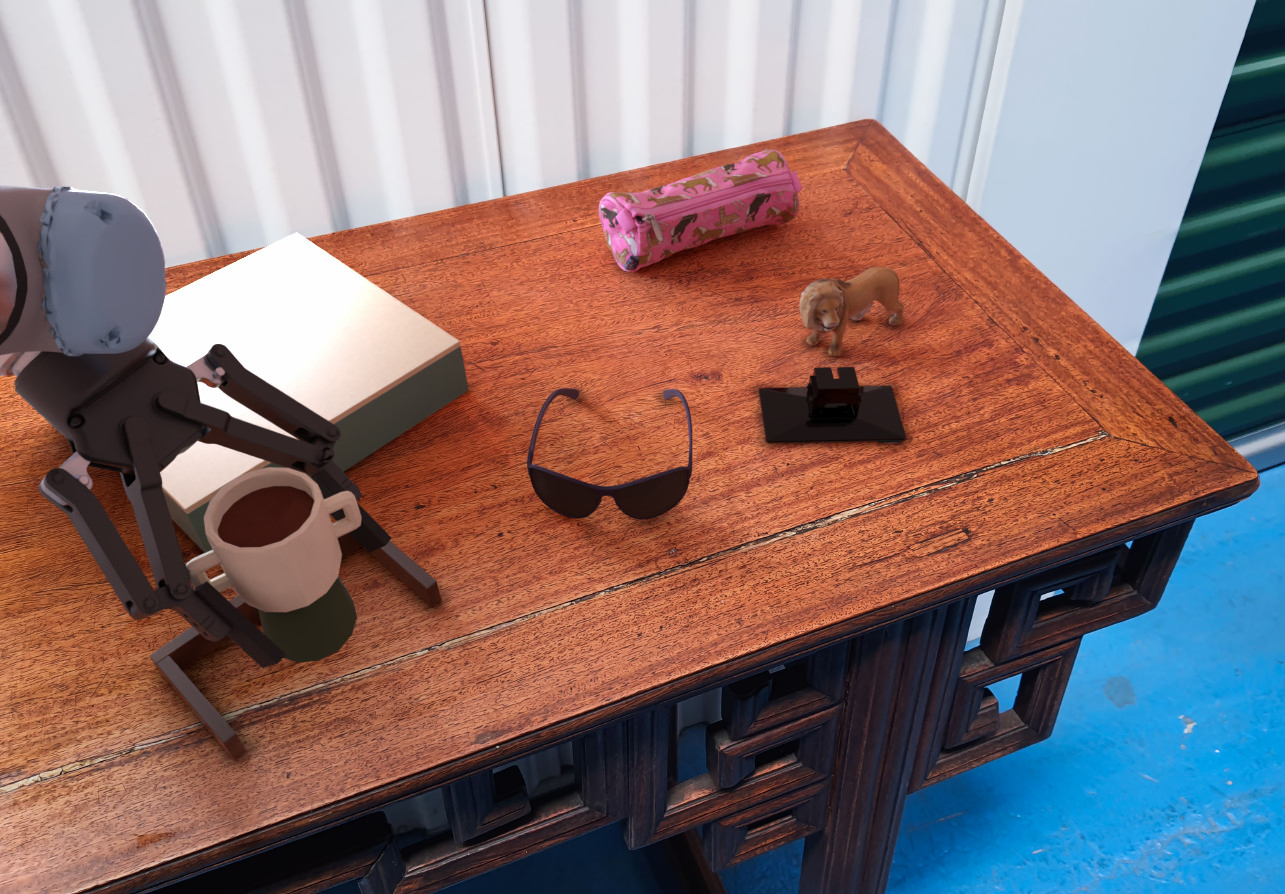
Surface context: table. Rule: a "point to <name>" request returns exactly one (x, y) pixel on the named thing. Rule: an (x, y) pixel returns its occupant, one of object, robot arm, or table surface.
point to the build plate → (831, 411)
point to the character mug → (283, 558)
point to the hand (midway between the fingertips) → (330, 600)
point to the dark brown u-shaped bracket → (195, 646)
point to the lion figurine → (847, 303)
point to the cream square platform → (303, 360)
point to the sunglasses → (631, 498)
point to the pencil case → (699, 209)
